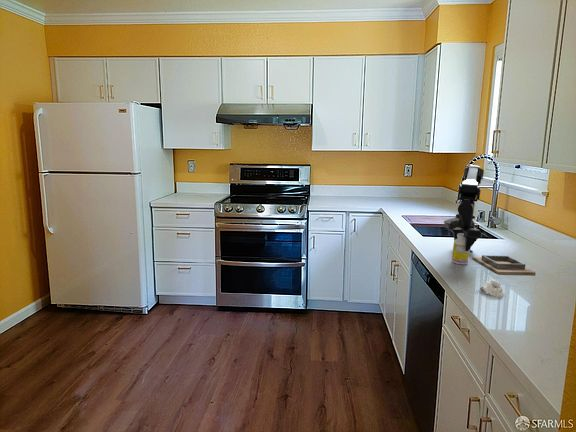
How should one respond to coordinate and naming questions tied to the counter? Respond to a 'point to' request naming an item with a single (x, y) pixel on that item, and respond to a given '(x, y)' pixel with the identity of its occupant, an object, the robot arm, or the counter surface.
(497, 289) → the whipped cream
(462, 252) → the supplement bottle
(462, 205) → the robot arm
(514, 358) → the counter surface
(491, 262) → the holder board
